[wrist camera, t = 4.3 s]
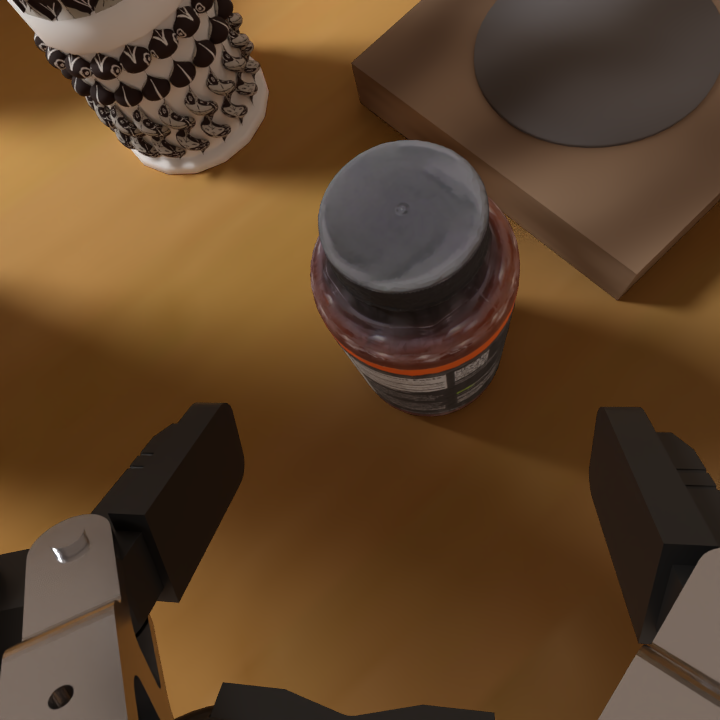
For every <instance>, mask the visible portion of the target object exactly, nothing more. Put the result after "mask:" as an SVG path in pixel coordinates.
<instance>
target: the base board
mask: <svg viewBox="0 0 720 720" xmlns="http://www.w3.org/2000/svg"><path fill="white" fill-rule="evenodd" d="M351 64H352V68H353V73H354V77H355V81H356V85H357V90H358V94H359V98H360V102H361V103H362V104H363V105H364V106H366V107H367V108H368V109H370V110H371V111H372V112H374V113H375V114H376V115H377V116H379V117H380V118H381V119H383V120H384V121H385V122H386V123H388V124H389V125H390V126H392V127H393V128H394V129H396V130H397V131H398V132H399V133H401V134H402V135H403V136H405V137H406V138H407V139H409V140H419V141H427V142H431V143H435V144H438V145H441V146H444V147H446V148H449V149H451V150H453V151H454V152H456V153H457V154H459V155H460V156H462V157H463V158H464V159H466V160H467V161H468V162H469V163H470V164H471V165H472V166H473V167H474V169H475V170H476V172H477V173H478V175H479V176H480V178H481V180H482V181H483V183H484V186H485V189H486V193H487V196H488V197H490V198H491V199H492V200H493V201H494V202H495V204H496V205H497V206H498V207H499V208H500V210H501V211H502V212H503V213H505V214H506V215H507V216H508V217H510V218H511V219H512V220H514V221H515V222H516V223H518V224H519V225H520V226H521V227H523V228H524V229H525V230H527V231H528V232H529V233H531V234H532V235H533V236H534V237H536V238H537V239H538V240H540V241H541V242H542V243H544V244H545V245H546V246H547V247H549V248H550V249H551V250H553V251H554V252H555V253H556V254H558V255H559V256H560V257H562V258H563V259H564V260H566V261H567V262H568V263H569V264H571V265H572V266H573V267H575V268H576V269H577V270H579V271H580V272H581V273H582V274H584V275H585V276H586V277H588V278H589V279H590V280H592V281H593V282H594V283H595V284H597V285H598V286H599V287H601V288H602V289H603V290H605V291H606V292H607V293H608V294H610V295H611V296H612V297H614V298H615V299H616V300H618V299H619V298H620V297H621V296H622V295H623V294H624V293H625V292H626V291H628V290H629V289H630V288H631V287H632V286H633V285H634V284H635V283H636V282H637V281H638V280H639V279H640V278H641V277H642V276H643V275H644V274H645V273H646V272H647V271H648V270H649V269H650V268H651V267H652V266H653V265H654V264H655V263H656V262H657V261H658V260H659V259H660V258H661V257H662V256H663V255H664V254H665V253H666V252H667V251H668V250H669V249H670V248H671V247H672V246H673V245H674V244H675V243H676V242H677V241H678V240H679V239H681V238H682V237H683V236H684V235H685V234H686V233H687V232H688V231H689V230H690V229H691V228H692V227H693V226H694V225H695V224H696V223H697V222H698V221H699V220H700V219H701V218H702V217H703V216H704V215H705V214H706V213H707V212H708V211H709V210H710V209H711V208H712V207H713V206H714V205H715V204H716V203H717V202H718V201H719V200H720V0H421V1H420V2H419V3H418V4H417V5H416V6H414V7H413V8H412V9H411V10H410V11H409V12H408V13H407V14H405V15H404V16H403V17H402V18H401V19H400V20H399V21H398V22H396V23H395V24H394V25H393V26H392V27H391V28H390V29H389V30H388V31H386V32H385V33H384V34H383V35H382V36H381V37H380V38H379V39H377V40H376V41H375V42H374V43H373V44H372V45H371V46H370V47H368V48H367V49H366V50H365V51H364V52H363V53H362V54H361V55H360V56H358V57H357V58H356V59H355V60H354V61H353V62H352V63H351Z"/></svg>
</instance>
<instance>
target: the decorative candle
mask: <svg viewBox="0 0 720 720" xmlns="http://www.w3.org/2000/svg"><path fill="white" fill-rule="evenodd" d="M7 1H8V2H9V3H10V4H11V6H12V7H13V8H14V9H15V10H16V11H17V12H18V14H19V15H20V16H21V17H22V18H23V19H24V20H25V22H26V23H27V24H28V25H29V26H30V27H31V28H32V30H33V31H34V32H35V34H34V41H35V44H36V46H37V47H38V48H39V49H40V50H41V51H44V52H46V58H47V60H48V61H49V63H50V64H51V65H52V66H53V67H55V68H57V69H60V70H61V72H62V74H63V75H64V77H66V78H67V79H70V80H72V86H73V88H74V90H75V91H76V92H77V93H78V94H79V95H81V96H85V97H86V100H87V102H88V104H89V106H90V107H91V108H92V109H93V110H95V112H96V114H97V116H98V118H99V119H100V120H101V122H103V123H104V124H105V125H106V126H108V127H109V128H110V129H111V130H112V131H114V132H115V133H116V136H117V138H118V139H119V141H120V142H121V143H122V144H123V145H124V146H125V147H127V148H129V149H131V150H132V151H133V152H134V154H135V155H136V156H137V157H138V158H139V159H140V161H141V162H142V163H143V164H144V165H145V166H148V167H150V168H153V169H156V170H158V171H161V172H163V173H166V174H193V173H199V172H201V171H204V170H206V169H209V168H212V167H214V166H217V165H219V164H222V163H224V162H226V161H227V160H229V159H230V158H231V157H232V156H233V155H235V154H236V153H237V152H238V151H239V150H241V149H242V148H243V147H244V146H245V145H247V144H248V143H249V142H250V141H251V139H252V137H253V136H254V134H255V132H256V131H257V129H258V128H259V126H260V124H261V123H262V121H263V119H264V118H265V113H266V107H267V101H268V94H269V90H268V87H267V84H266V81H265V78H264V75H263V72H262V69H261V67H260V64H259V62H257V61H255V60H254V59H253V58H252V57H251V56H249V55H250V53H251V52H252V51H253V49H254V45H253V43H252V42H251V41H249V38H248V36H247V35H246V34H240V32H239V27H240V26H241V24H242V17H241V15H240V14H239V13H232V11H233V4H232V2H231V0H7ZM227 20H228V21H227Z"/></svg>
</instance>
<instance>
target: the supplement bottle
mask: <svg viewBox="0 0 720 720" xmlns="http://www.w3.org/2000/svg"><path fill="white" fill-rule="evenodd" d="M318 228H319V237H318V239H317V242H316V244H315V247H314V250H313V255H312V260H311V274H310V277H311V287H312V292H313V295H314V299H315V303H316V306H317V309H318V311H319V313H320V315H321V317H322V319H323V321H324V323H325V325H326V326H327V328H328V329H329V331H330V332H331V334H332V335H333V336H334V338H335V339H336V341H337V342H338V344H339V345H340V346H341V348H342V349H343V350H344V352H345V353H346V354H347V356H348V357H349V358H350V360H351V361H352V362H353V364H354V365H355V366H356V368H357V369H358V370H359V372H360V373H361V374H362V376H363V377H364V378H365V380H366V381H367V383H368V384H369V385H370V387H371V388H372V389H373V390H374V391H375V392H376V393H377V394H378V395H379V396H380V397H381V399H383V400H384V401H385V402H386V403H388V404H389V405H391V406H393V407H394V408H396V409H399V410H401V411H403V412H406V413H409V414H413V415H419V416H439V415H446V414H449V413H451V412H454V411H457V410H459V409H461V408H463V407H466V406H467V405H468V404H470V403H472V402H473V401H474V400H475V399H477V398H478V397H479V396H480V395H481V393H482V392H483V391H484V390H485V389H486V388H487V386H488V385H489V384H490V382H491V380H492V379H493V377H494V375H495V373H496V371H497V369H498V366H499V362H500V358H501V355H502V351H503V348H504V343H505V339H506V336H507V332H508V329H509V324H510V320H511V316H512V312H513V309H514V306H515V299H516V296H517V291H518V286H519V274H520V260H519V251H518V245H517V240H516V238H515V235H514V232H513V230H512V227H511V225H510V223H509V221H508V220H507V218H506V217H505V215H504V214H503V212H502V211H501V210H500V208H499V207H498V206H497V205H496V204H495V202H494V201H493V200H492V199H491V198H490V197H488V196H487V193H486V189H485V186H484V183H483V181H482V180H481V178H480V176H479V175H478V173H477V172H476V170H475V169H474V167H473V166H472V165H471V164H470V163H469V162H468V161H467V160H466V159H464V158H463V157H462V156H460V155H459V154H457V153H456V152H454V151H453V150H451V149H449V148H446V147H444V146H441V145H438V144H435V143H431V142H427V141H419V140H398V141H395V142H387V143H383V144H380V145H378V146H375V147H373V148H371V149H369V150H367V151H365V152H362V153H360V154H359V155H357V156H356V157H355V158H354V159H352V160H351V161H350V162H348V163H347V164H346V165H345V166H344V167H343V168H342V169H341V170H340V171H339V172H338V173H337V174H336V175H335V177H334V178H333V180H332V181H331V182H330V184H329V186H328V188H327V190H326V192H325V194H324V196H323V199H322V201H321V204H320V210H319V215H318Z"/></svg>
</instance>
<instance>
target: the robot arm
mask: <svg viewBox="0 0 720 720" xmlns="http://www.w3.org/2000/svg"><path fill="white" fill-rule="evenodd" d="M243 473H244V455H243V451H242V447H241V443H240V439H239V435H238V431H237V427H236V423H235V419H234V415H233V411H232V409H231V407H230V405H229V404H228V403H194V404H193V405H192V406H191V407H190V408H189V409H188V411H187V412H186V413H185V414H184V416H183V417H182V418H181V420H180V421H179V422H178V423H177V424H171V425H170V426H168V427H167V428H166V429H164V430H163V431H161V432H160V433H158V434H157V435H156V436H154V437H153V438H152V439H151V440H150V442H149V443H148V444H147V445H146V447H145V448H144V449H143V450H142V452H141V455H140V456H137V458H136V459H135V460H134V461H133V463H132V464H131V465H130V469H127V470H126V471H125V472H124V474H123V475H122V476H121V477H120V478H119V480H118V481H117V482H116V483H115V485H114V486H113V487H112V488H111V489H110V491H109V492H108V493H107V494H106V496H105V497H104V498H103V499H102V500H101V502H100V503H99V504H98V505H97V507H96V508H95V509H94V510H93V511H92V513H91V514H86V515H79V516H75V517H72V518H69V519H67V520H64V521H62V522H60V523H58V524H56V525H55V526H53V527H51V528H50V529H48V530H47V531H46V532H45V533H43V534H42V535H41V536H40V537H39V538H38V539H37V540H36V541H35V542H34V544H33V545H32V547H31V548H30V549H26V550H21V551H16V552H11V553H7V554H2V555H0V720H495V715H494V713H492V712H483V711H474V710H465V709H456V708H447V707H438V706H429V705H418V706H412V707H406V708H400V709H394V710H388V711H382V712H376V713H370V714H364V715H358V716H347V715H344V714H341V713H338V712H336V711H334V710H331V709H329V708H327V707H325V706H322V705H320V704H318V703H315V702H313V701H311V700H308V699H306V698H304V697H301V696H299V695H297V694H294V693H292V692H290V691H288V690H285V689H277V688H269V687H260V686H251V685H242V684H233V683H224V682H223V683H222V686H221V689H220V691H219V694H218V697H217V699H216V702H215V705H213V706H208V707H205V708H202V709H198V710H195V711H192V712H190V713H187V714H185V715H183V716H180V717H178V718H176V719H174V718H173V714H172V711H171V708H170V704H169V700H168V695H167V690H166V685H165V680H164V675H163V670H162V665H161V660H160V655H159V650H158V645H157V640H156V635H155V630H154V625H153V621H152V618H151V616H150V614H149V613H150V612H151V610H152V608H153V606H154V605H155V603H156V601H165V602H176V603H179V601H180V600H181V598H182V596H183V594H184V592H185V590H186V588H187V586H188V584H189V582H190V580H191V578H192V576H193V574H194V572H195V570H196V569H197V567H198V565H199V563H200V561H201V559H202V557H203V555H204V553H205V551H206V549H207V547H208V545H209V543H210V541H211V539H212V538H213V536H214V534H215V532H216V530H217V528H218V526H219V524H220V522H221V520H222V518H223V516H224V514H225V512H226V510H227V508H228V507H229V505H230V503H231V501H232V499H233V497H234V495H235V493H236V491H237V489H238V487H239V485H240V483H241V481H242V478H243ZM589 482H590V490H591V495H592V499H593V502H594V505H595V508H596V511H597V515H598V518H599V521H600V524H601V527H602V530H603V533H604V536H605V540H606V543H607V546H608V549H609V552H610V555H611V558H612V562H613V565H614V568H615V571H616V574H617V577H618V580H619V584H620V587H621V590H622V593H623V596H624V599H625V602H626V605H627V609H628V612H629V615H630V618H631V621H632V624H633V627H634V631H635V634H636V637H637V640H638V643H641V644H651V645H650V646H647V645H643V646H642V647H641V649H640V650H639V651H638V653H637V654H636V656H635V657H634V659H633V661H632V662H631V664H630V666H629V668H628V669H627V671H626V673H625V674H624V676H623V678H622V680H621V681H620V683H619V685H618V686H617V688H616V690H615V691H614V693H613V695H612V697H611V698H610V700H609V702H608V703H607V705H606V707H605V709H604V710H603V712H602V714H601V715H600V717H599V719H598V720H720V491H719V490H717V489H716V484H715V483H714V481H713V480H712V478H711V476H710V475H709V473H706V468H705V467H704V465H703V464H702V462H701V460H700V459H699V457H698V456H697V454H696V452H695V451H694V449H692V448H691V447H690V446H688V445H687V444H686V443H685V442H683V441H682V440H681V439H679V438H678V437H677V436H675V435H674V434H673V433H664V432H655V430H654V428H653V426H652V424H651V422H650V421H649V419H648V417H647V415H646V413H645V412H644V410H643V409H642V408H641V407H600V408H599V410H598V413H597V418H596V424H595V431H594V438H593V445H592V452H591V459H590V467H589Z"/></svg>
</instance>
